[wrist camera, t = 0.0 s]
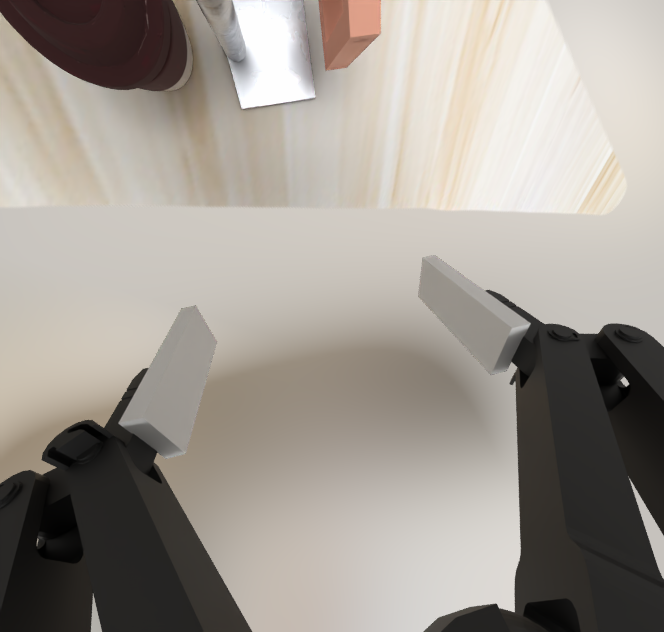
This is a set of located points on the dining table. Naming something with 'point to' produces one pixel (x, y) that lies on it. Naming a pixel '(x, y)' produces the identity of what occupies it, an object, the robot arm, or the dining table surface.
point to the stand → (264, 48)
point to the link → (348, 29)
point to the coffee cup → (108, 40)
